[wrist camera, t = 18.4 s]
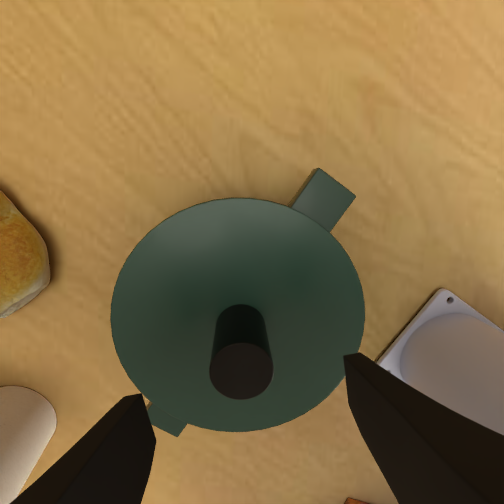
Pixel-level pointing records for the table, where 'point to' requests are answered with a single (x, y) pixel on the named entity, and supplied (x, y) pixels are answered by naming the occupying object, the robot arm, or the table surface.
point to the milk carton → (354, 501)
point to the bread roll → (20, 259)
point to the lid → (237, 314)
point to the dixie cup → (22, 436)
